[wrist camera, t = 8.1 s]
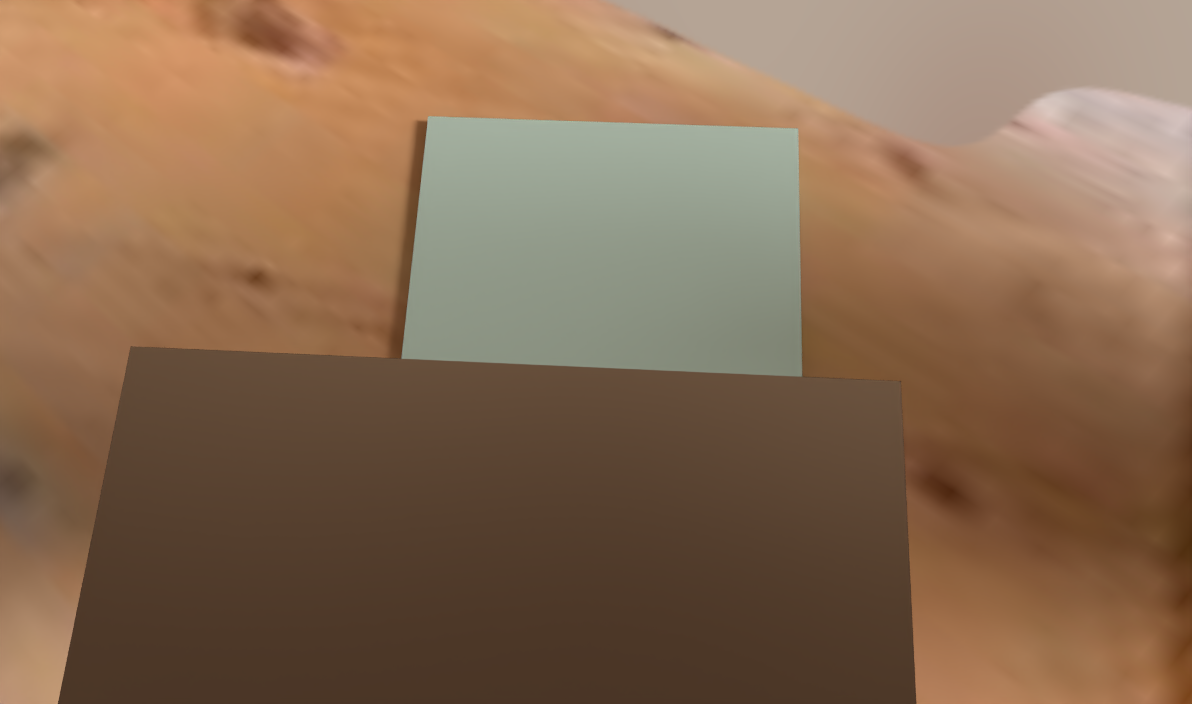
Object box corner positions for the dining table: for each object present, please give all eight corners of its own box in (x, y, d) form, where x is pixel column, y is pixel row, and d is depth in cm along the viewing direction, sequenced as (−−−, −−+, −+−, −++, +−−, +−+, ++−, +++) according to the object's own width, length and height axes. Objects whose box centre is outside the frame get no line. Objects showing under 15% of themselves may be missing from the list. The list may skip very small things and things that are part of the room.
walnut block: (681, 747, 16) (949, 1392, 4) (455, 734, 16) (-69, 1316, 4) (685, 517, 17) (900, 381, 5) (475, 506, 17) (130, 346, 5)
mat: (804, 750, 24) (808, 754, 23) (365, 725, 24) (360, 729, 24) (794, 135, 29) (798, 128, 28) (431, 123, 29) (428, 116, 29)
